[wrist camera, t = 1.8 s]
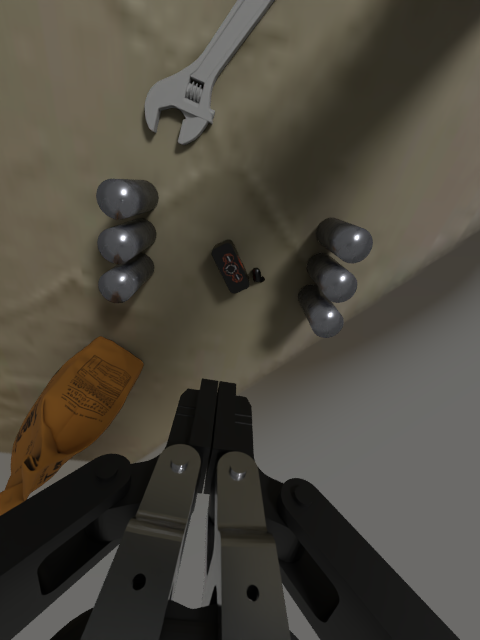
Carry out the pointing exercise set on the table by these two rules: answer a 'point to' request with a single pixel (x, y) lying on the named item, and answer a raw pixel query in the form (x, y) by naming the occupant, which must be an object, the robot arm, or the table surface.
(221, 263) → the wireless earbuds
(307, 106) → the table surface
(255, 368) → the table surface
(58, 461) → the coffee package
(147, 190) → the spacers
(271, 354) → the table surface
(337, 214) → the table surface
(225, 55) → the adjustable wrench
